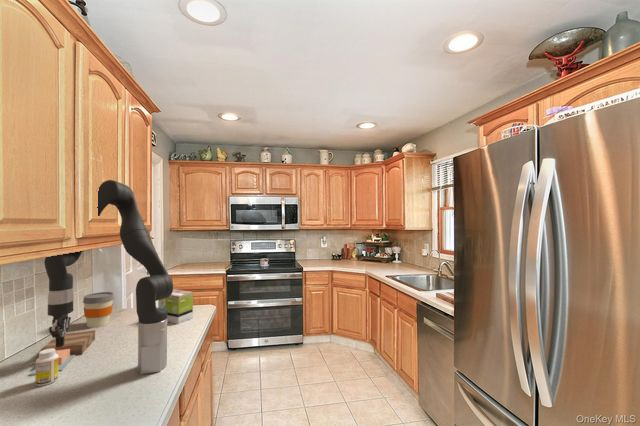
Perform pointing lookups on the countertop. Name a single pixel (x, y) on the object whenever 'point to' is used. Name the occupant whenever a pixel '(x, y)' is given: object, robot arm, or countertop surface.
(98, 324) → the reusable coffee cup
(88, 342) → the block
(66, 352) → the salmon foam block
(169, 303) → the tea box
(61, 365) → the mat
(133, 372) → the countertop surface
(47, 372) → the supplement bottle
